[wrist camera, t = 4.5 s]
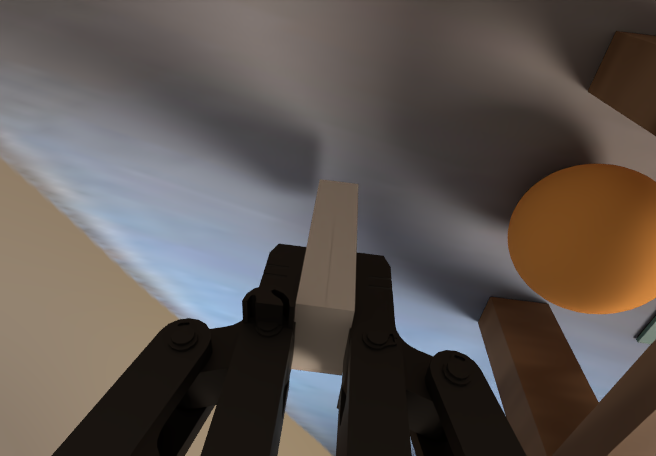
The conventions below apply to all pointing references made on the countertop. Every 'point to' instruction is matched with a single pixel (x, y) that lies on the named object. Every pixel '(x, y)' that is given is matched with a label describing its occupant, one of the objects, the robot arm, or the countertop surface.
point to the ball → (588, 238)
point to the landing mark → (648, 333)
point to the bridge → (548, 339)
